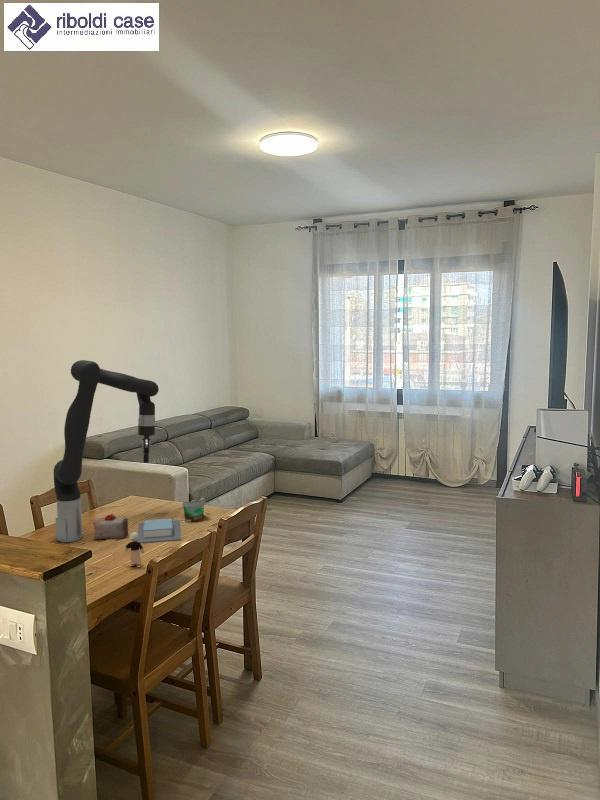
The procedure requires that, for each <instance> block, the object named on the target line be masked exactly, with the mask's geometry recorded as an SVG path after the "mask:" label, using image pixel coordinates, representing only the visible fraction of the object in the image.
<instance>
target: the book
mask: <svg viewBox="0 0 600 800" xmlns="http://www.w3.org/2000/svg"><path fill="white" fill-rule="evenodd" d="M173 521H174V519H173V518H172V517H171V518H157V519H156V518H155V519H145V520H144V522H143V523H144V529H143V531H144V539H145V538H158V537H171V536H173Z"/></svg>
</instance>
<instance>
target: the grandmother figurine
mask: <svg viewBox="0 0 600 800" xmlns="http://www.w3.org/2000/svg"><path fill="white" fill-rule="evenodd" d="M138 536H139V535H138V531H137V532H136V531H134V532H132V533H131V534H130V535H129V537H128V539H129V540H131V541H130V542H129V543H126V545H125V549H124V551H125V552H128V550H130V563H131V565H130V567H131V566H135V565H136V566H141V567H143V566H144V564H143V563H142V559H141V558H142V557H141V554H145V551H144V547H143V544H140V543H139V542H136V541H137V540H138ZM142 565H143V566H142ZM136 566H135V567H136Z"/></svg>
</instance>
